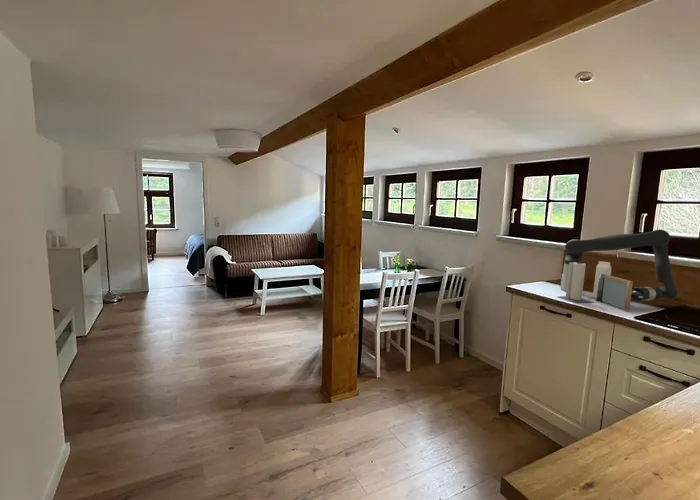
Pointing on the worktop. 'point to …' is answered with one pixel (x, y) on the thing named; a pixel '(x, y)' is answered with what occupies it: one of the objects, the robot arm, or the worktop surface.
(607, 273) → the milk
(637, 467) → the worktop surface
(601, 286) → the post
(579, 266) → the white carton
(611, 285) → the picture frame
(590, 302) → the mat
